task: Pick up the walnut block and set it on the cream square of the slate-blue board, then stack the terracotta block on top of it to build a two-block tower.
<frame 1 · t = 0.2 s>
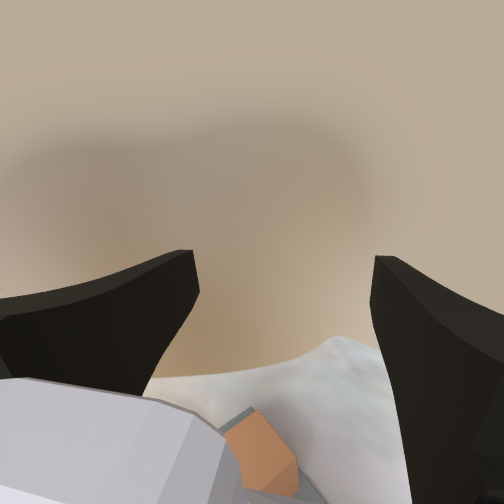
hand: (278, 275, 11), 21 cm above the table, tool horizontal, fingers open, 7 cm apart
terracotta block: (255, 483, 23), resting on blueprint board
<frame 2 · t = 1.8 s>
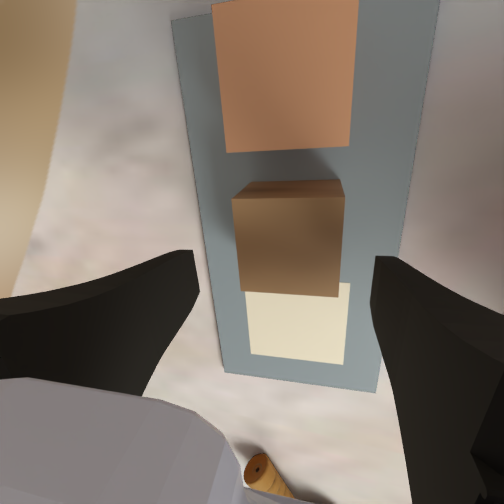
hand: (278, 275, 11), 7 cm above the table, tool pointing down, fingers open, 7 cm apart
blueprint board: (294, 242, 18), on the table
terracotta block: (293, 88, 14), resting on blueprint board
kendama: (306, 499, 31), on the table
walnut block: (294, 222, 17), resting on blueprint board
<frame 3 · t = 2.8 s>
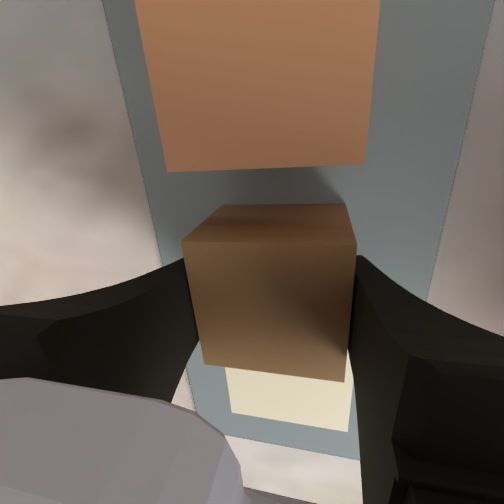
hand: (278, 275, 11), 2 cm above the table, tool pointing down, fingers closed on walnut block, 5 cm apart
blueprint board: (284, 283, 13), on the table
terracotta block: (277, 73, 9), resting on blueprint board
walnut block: (282, 259, 12), resting on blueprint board, touching gripper
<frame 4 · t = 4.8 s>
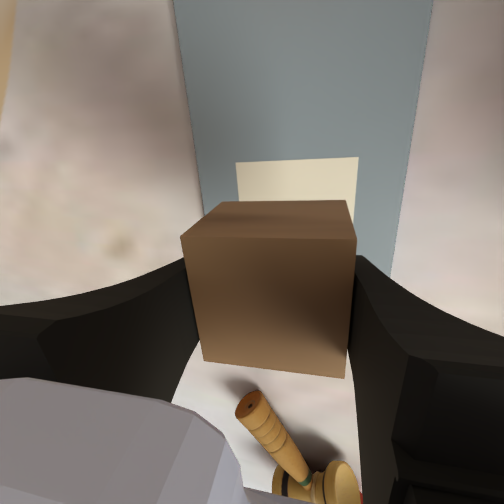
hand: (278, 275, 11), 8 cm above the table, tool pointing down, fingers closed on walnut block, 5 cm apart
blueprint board: (294, 111, 15), on the table
kendama: (305, 445, 28), on the table
walnut block: (282, 256, 12), point 6 cm above the table, touching gripper
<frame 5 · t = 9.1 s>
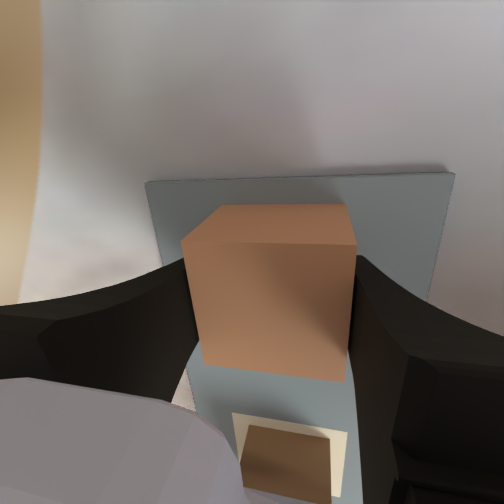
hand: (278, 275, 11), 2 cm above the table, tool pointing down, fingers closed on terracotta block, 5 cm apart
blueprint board: (286, 387, 16), on the table
terracotta block: (282, 259, 12), resting on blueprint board, touching gripper
walnut block: (288, 455, 18), resting on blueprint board
when the fingers open (7 cm above the table, at t = 12.2 s): terracotta block drops 1 cm, resting on walnut block.
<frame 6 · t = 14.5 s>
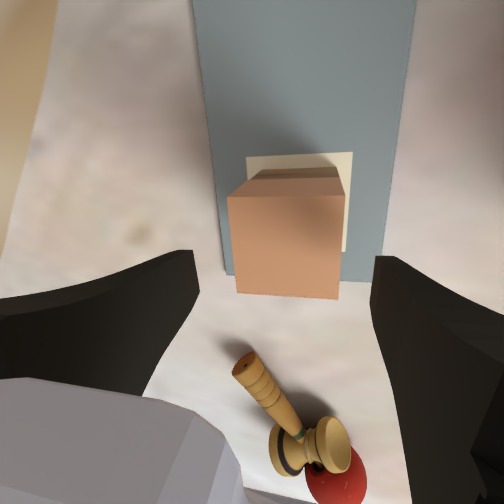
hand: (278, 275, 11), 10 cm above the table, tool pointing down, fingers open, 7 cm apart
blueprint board: (297, 112, 18), on the table
terracotta block: (292, 221, 16), point 4 cm above the table, touching walnut block
kendama: (299, 406, 30), on the table
walnut block: (297, 204, 20), resting on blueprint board, touching terracotta block
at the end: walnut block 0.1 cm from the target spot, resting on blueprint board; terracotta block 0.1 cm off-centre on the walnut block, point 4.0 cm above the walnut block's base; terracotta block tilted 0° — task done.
